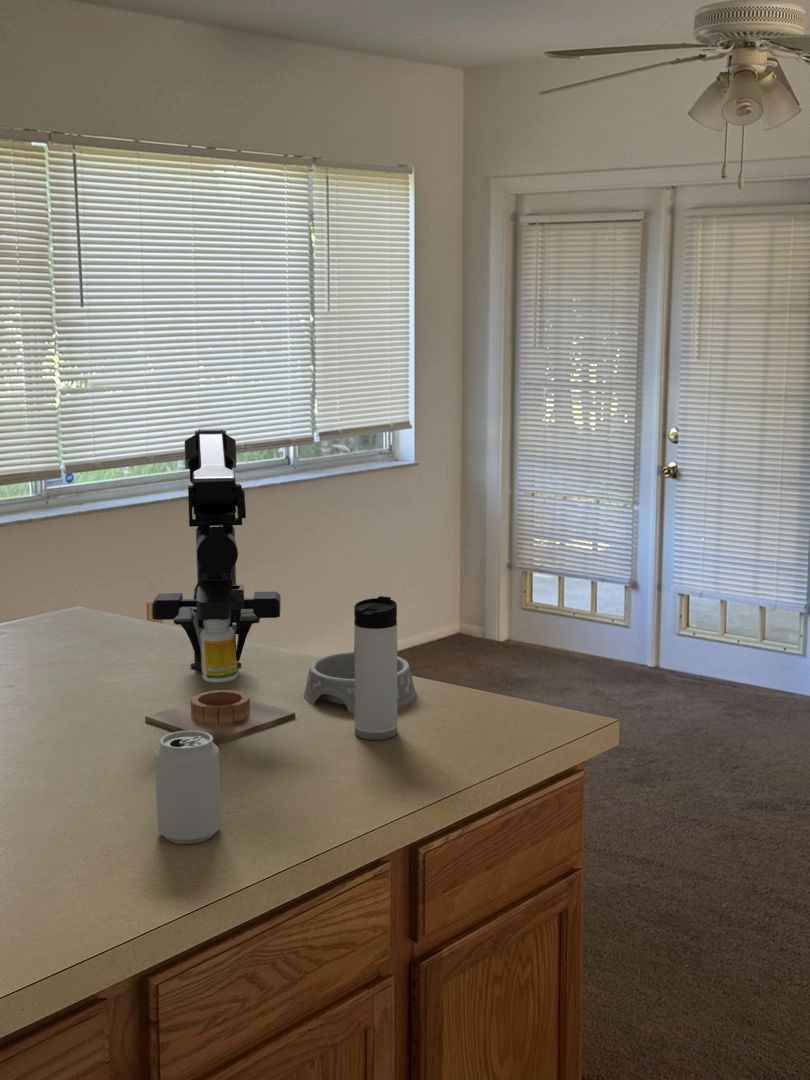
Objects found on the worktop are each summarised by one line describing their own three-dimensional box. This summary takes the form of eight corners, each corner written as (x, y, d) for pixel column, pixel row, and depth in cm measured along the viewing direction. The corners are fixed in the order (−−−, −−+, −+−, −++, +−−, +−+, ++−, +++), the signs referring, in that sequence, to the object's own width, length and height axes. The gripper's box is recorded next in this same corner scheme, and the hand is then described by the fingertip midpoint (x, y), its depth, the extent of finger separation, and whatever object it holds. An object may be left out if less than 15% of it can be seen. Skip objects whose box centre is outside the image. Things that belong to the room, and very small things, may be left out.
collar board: (225, 696, 202) (225, 676, 201) (295, 717, 192) (295, 697, 191) (145, 721, 190) (144, 700, 189) (215, 745, 180) (214, 723, 179)
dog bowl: (380, 720, 191) (380, 686, 190) (282, 701, 200) (282, 669, 199) (434, 691, 206) (435, 659, 205) (340, 674, 215) (340, 644, 214)
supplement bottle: (195, 677, 190) (191, 616, 188) (226, 670, 193) (222, 609, 191) (214, 685, 186) (209, 622, 184) (245, 677, 189) (241, 616, 187)
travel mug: (405, 729, 186) (405, 598, 183) (385, 743, 181) (385, 608, 177) (367, 723, 189) (366, 594, 185) (347, 736, 183) (346, 603, 179)
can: (161, 821, 153) (157, 727, 151) (223, 819, 154) (220, 726, 152) (154, 847, 146) (150, 749, 144) (219, 845, 146) (216, 747, 144)
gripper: (145, 572, 178) (149, 678, 181) (277, 570, 179) (279, 675, 182) (155, 556, 189) (158, 656, 192) (279, 554, 190) (281, 654, 193)
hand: (219, 660), depth 189 cm, fingers closed on supplement bottle, 5 cm apart
